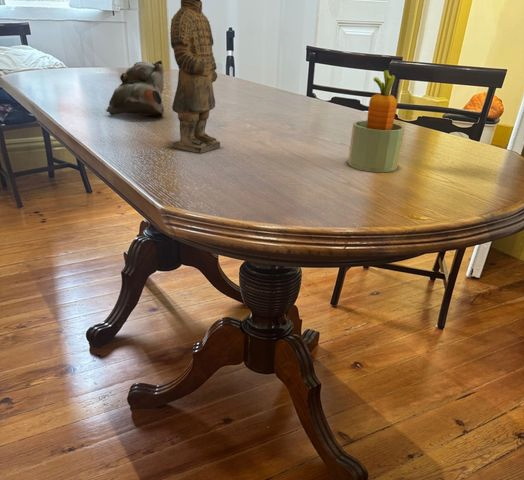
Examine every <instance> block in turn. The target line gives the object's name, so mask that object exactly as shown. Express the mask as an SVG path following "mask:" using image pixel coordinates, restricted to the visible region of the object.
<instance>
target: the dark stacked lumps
mask: <svg viewBox="0 0 524 480" xmlns="http://www.w3.org/2000/svg"><path fill="white" fill-rule="evenodd" d="M119 80H120V81H121V83H120V84H119V85H118V87H116V88H115V89H114V90H113V93H112V95H111V97H110V100H109V102H108V107H107V108H106V109H105V112H106V113H109V114H110V115H111V116H113V115H121V114H128V115H129V114H130V115H147V116H149V115H150V116H153V117H159V118H163V116H164V113H165V106H164V103H163V98H162V97H163V96H162V94H163V91H164V66H163V62H162V60H158V61H156V62H155V63H153V62H149V61H141V60H140V61H138V62H135V63H134V64H133V65H132V66H130V67H128V69H127V70H126V71H125V72H122V73H121V75H120V77H119Z"/></svg>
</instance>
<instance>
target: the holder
mask: <svg viewBox="0 0 524 480" xmlns="http://www.w3.org/2000/svg"><path fill="white" fill-rule="evenodd" d="M405 128H406V127H405V126H403V125H401V124H400V123H396V122H393V126H392V130H376V129H369V128H367V120H357V121H354V122H353V123H352V128H351V129H352V130H351V136H350V137H351V138H350V144H349V152H348V159H347V160H348V162H347V163H348V164H347V165H348V166H350V167H351V168H353V169H355V170H360V171H364V172H371V173H390V172H394V171H396V170H397V169H398V165H399V160H400V155H401V150H402V145H403V140H404V134H405Z"/></svg>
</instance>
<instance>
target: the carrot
mask: <svg viewBox="0 0 524 480" xmlns="http://www.w3.org/2000/svg"><path fill="white" fill-rule="evenodd" d="M395 79H396V76H395V75H393V74H392V75H391V74H390V73H389V70H388V69H387V70H386V69H385V70H383V80H384V82H383V81H381V80H380V78H378V77H373V80H372V81H373V82H375V83H376V84H377V86H378V88H379V91H380V93H376V94H373V95H372V96H371V97H370V99H369V103H368V111H367V118H366V119H367V128H369V129H376V130H392V126H393V123H394V122H395V117H396V112H397V106H398V101H397V98H396V97H395V96H394V95H392V94H389V93H390V91H391V90H392V87H393V85H394V82H395Z"/></svg>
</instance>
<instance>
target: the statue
mask: <svg viewBox="0 0 524 480" xmlns="http://www.w3.org/2000/svg"><path fill="white" fill-rule="evenodd" d="M170 20H171V21H170V30H169V31H170V32H169V35H170V36H169V37H170V46H171V49H172V50H173V55H174V60H175V63H176V65H177V67H178V75H177V77H178V78H177V85H176V86H177V87H176V90H175V94H174V98H173V101H172V105H171V109H172V111H173V112H175V113H176V114H177V119H178V121H179V136H180V137H179V140H178V141H174V142H173V148H174V149H176V150H177V149H178V150H181V151H182V150H183V151H187V152H193V153H197V154H202V153H205V152H209V151H212V150H215V149H218V148H221V142H220V141H218V140H217V138H215V137H213V136H210V135H209V134H207V133H206V127H207V122H208V119H209V116H210V111H212V110H214V109H215V108H216V98H215V93H214V87H213V86H214V85H213V83H214V82H216V81H217V80H218V79H217V78H218V74H217V71H216V70H217V63H216V59H215V57H214V52H213V46H214V37H213V33H212V28H211V24H210V21H209V19H208V17H207V16H206V15H205V14H204V13H203V1H202V0H180V8H179V9H178V10H177V11H176V13H175V14H174V15H173V17H172V18H171V19H170Z"/></svg>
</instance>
